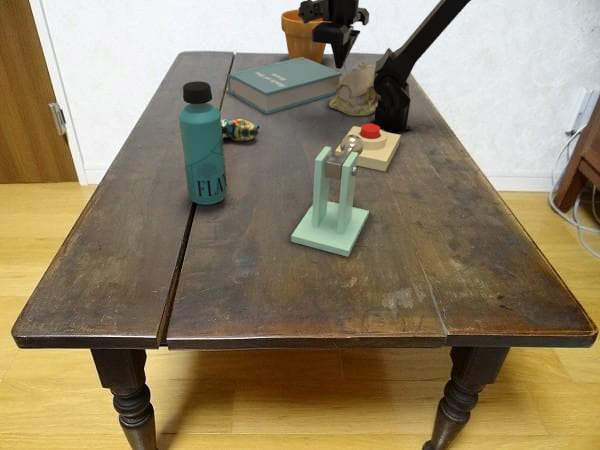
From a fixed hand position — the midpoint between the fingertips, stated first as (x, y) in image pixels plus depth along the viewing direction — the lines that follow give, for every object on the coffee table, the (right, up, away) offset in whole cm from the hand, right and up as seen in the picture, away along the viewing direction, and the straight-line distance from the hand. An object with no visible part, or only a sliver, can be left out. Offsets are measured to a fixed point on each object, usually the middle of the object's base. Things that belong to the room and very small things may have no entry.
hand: (339, 68), depth 100 cm
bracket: (-3, -33, -24) cm, 41 cm away
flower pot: (-6, +14, +39) cm, 42 cm away
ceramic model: (+6, -4, +15) cm, 17 cm away
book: (-12, 0, +20) cm, 24 cm away
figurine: (-24, -14, 0) cm, 28 cm away
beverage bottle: (-23, -29, -19) cm, 42 cm away
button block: (+5, -18, -4) cm, 19 cm away
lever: (-1, -24, -27) cm, 36 cm away
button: (+6, -15, -6) cm, 17 cm away
